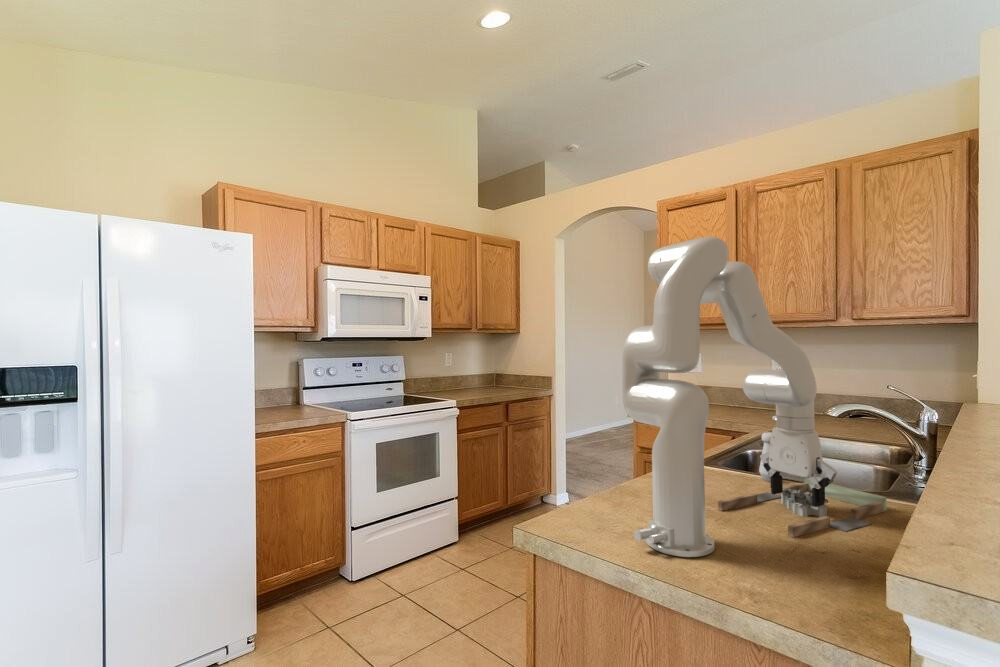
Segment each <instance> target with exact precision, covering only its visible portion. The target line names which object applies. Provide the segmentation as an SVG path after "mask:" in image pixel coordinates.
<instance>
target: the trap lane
mask: <svg viewBox="0 0 1000 667" xmlns="http://www.w3.org/2000/svg"><path fill="white" fill-rule="evenodd" d="M812 488H814V485H813V484H812V482H811V481H810V480H809V478H803V482H800V483H795V484H792V485H787V486H783V489H787V490H788V489H791V490H796V491H799V490H801V492H802V493H806V492H809V493H812ZM781 494H782V493H778V494H772V493H771V492H768V491H767V492H763V493H757V494H756V493H749V494H746V495H745V494H744V495H741V496H737V497H736V496H735V497H732V498H726V499H723V500H718V501H717V510H718V509H719V510H718V511H720V510H721V512H723V511H722V510H725V511H728V510H727V509H730V510H732V509H731V508H734V509H737V508H736V507H738V508H742V507H741V506H743V507H746V505H747V506H750V505H751V506H752V505H755V503H756V504H759V502H760V503H764V502H769V501H772V500H777V499H781ZM825 497H827V498H832V499H834V500H838V501H842V502H845V503H849V504H853V505H856V506H857V507H852V508H851V512H850V513H851V515H850V517H848V518H847V517H846V518H844V519H843V518H842V519H839V520H836V521H832V522H831V517H830V516H828V515H827V516H823V517H815V518H812V519H808V520H805V521H801V522H797V523H794V524H790V525H788V526H787V534H788V537H790V538H793V539H794V538H797V537H801V536H803V535H807V534H810V533H813V532H817V531H821V530H824V529H827V528H833V529H834V530H835V529H836V530H840V531H842V532H846V533H847V532H850V531H852V530H856V529H860V528H863V527H867V526H870V525H872V522H870V521H866V520H863V518H867V517H869V516H873V515H874V516H875V515H877V514H880V513H884V512H886V511H888V509H887V508H888V506H887V497H886V496H883V495H878V494H873V493H870V492H867V491H866V492H865V491H861V490H857V489H854V488H851V487H850V488H849V487H845V486H843V485H838V484H833V483H830V484H829V485H828V486H827V487H825ZM768 500H769V501H768ZM861 519H862V520H861Z"/></svg>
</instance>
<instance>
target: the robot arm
mask: <svg viewBox="0 0 1000 667" xmlns="http://www.w3.org/2000/svg"><path fill="white" fill-rule="evenodd" d="M729 252H730V251H729V247H728V243H726V241H724V240H723V239H722V238H720V237H715V236H703V237H699V238H693V239H689V240H686V241H683V242H679V243H673V244H670V245H669V244H668V245H666V246H661V247H660V248H658V249H656V250H655V251H653V253H651V255H650V256H649V259H648V261H647V262H648V263H647V271H648V274H649V276H650V278H651V279H652V281H653V282H654V283H655V284H656V285H658V287H657V290H656V292H655V296H654V301H653V320H652V325H643V326H642V325H641V326H638V327H636V328H634V329H633V330H631V332H629V334H628V335H627V336H626V338H625V340H624V344H623V346H622V347H623V348H622V354H621V356H622V359H621V360H622V361H621V363H622V364H621V366H622V369H621V370H622V372H621V374H622V375H621V376H622V379H621V380H622V383H621V384H622V387H621V388H622V403H623V407H624V410H625V412H626V414H627V416H628V417H629V418H631V420H632V421H635V422H637V423H640V424H645V425H650V426H655V427H658V428H659V431H658V434H657V435H656V438H655V440H654V442H653V445H652V449H651V467H652V468H651V471H652V472H651V473H652V479H651V480H652V516H653V517H652V519H649V520H648V521H649V522H648V525H647V526H646V528H640V529H635V530H634V531H633V537H634V539H635V541H637V542H641V541H644V540H645V544H647V545H648V546H649V547H650V548H652V549H653V550H655V551H657V552H660V553H662V554H666V555H669V556H672V557H673V556H675V557H679V558H681V557H682V558H698V557H704V556H708V555H710V554H711V553H713V552H714V550H715V549H716V548H715V541H714V539H713V537H711V536H710V535H709V534H707V533H706V500H705V499H706V498H705V496H706V495H705V491H706V490H705V489H706V487H705V486H706V485H705V455H704V454H705V434H706V428H707V423H708V419H709V418H708V417H709V413H710V411H709V409H710V403H709V402H710V401H709V398H708V395H707V394H706V393H705V391H704V390H703V389H702V388H701V387H700V386H698V385H697V384H694V383H692V382H689V381H685V380H679V379H666V378H665V379H664V378H663V379H662V378H660V377H661V376H660V375H661V373H667V374H669V373H670V374H685V373H689V372H691V371H693V370H694V369H696V367H697V366H698V364H699V361H700V360H699V359H700V353H701V352H700V348H701V342H700V341H701V337H700V335H701V332H700V331H701V328H700V327H701V324H700V323H701V322H700V320H701V319H700V317H701V316H700V314H701V313H700V312H701V305H703V304H704V305H705V304H715V303H716V304H717V305H718V307H719V309H720V313H721V316H722V318H723V321H724V322H725V326H726V328H727V331H728V333H729V336H730V338H731V339H733V340H734V342H737V343H739V344H741V345H743V346H745V347H747V348H749V349H752V350H754V351H756V352H759V353H761V354H762V355H765V356H767V357H768V358H770V359H771V360H772V361H774V363H776V364H777V366H779V368H780V369H755V370H752V371H750V372H749V373H748V374H746V375H745V377H744V378H743V381H742V390H743V392H744V394H745V396H746V397H747V398H748V399H749V400H751V401H754V402H756V403H760V404H768V405H775V415H772V417H771V420H772V421H773V422H775V425H776V426H775V427H773V428H772V430H771V432H772V434H771V439H770V449H769V452H767V453H764V454H762V453H761V454H760V455H759V458H760V461H761V460H762V462H763V466H764V468H765V469H766V470H767V472H768V475H769V476H770V479H771V482H770V493H772V494H776V495H779V493H782V492H783V487H784V486H783V484H784V483H783V475H782V476H781V475H780V473H783V474H785V475H790V476H793V477H797V478H801V479H805V478H809V480H810V481H811V482H812V484H813V485H814V488H812V492H811V496H812V505H813V506H815V507H818V506H821V505H824V502H825V499H826V496H825V487H827V486H828V485H829V484H833V482H834V479H835V478H836V476H837V474H838V471H837V470H836V469H835V468H834V467H833V466H830V465H829V464H828V463H827V462H825V461H824V460H823V455H822V454H823V453H822V447H821V441H820V436H819V434H818V431H816V429H815V428H816V427H815V399H816V396H817V392H818V391H817V388H818V387H817V382H816V378H815V373H814V370H813V368H812V366H811V362H810V360H809V357H808V355H807V354H806V352H805V351H804V350H803V348H801V346H800V345H799V344H797V342H796V341H795V340H793V339H792V338H791V337H790V336H789V335H788V334H786V333H785V332H784V331H783V330H781V329H780V328H778V327H777V326H776V325H775V324H774V323H773V321H772V319H771V316H770V313H769V311H768V309H767V305H766V302H765V300H764V298H763V295H762V291H761V288H760V286H759V283H758V281H757V278H756V276H755V272H754V271H753V269H752V267H751V266H750V265H749V264H748V263H745V262H743V261H735V260H734V261H729V254H730V253H729ZM823 472H825V476H824V477H823V476H822V474H823Z"/></svg>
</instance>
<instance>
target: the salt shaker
mask: <svg viewBox="0 0 1000 667" xmlns="http://www.w3.org/2000/svg"><path fill="white" fill-rule="evenodd" d="M771 434H772V431H768V432H763V433H762V434H761V441H762V442H763V445H762V446H763V447H762V451H761V454H764V453H767V452H769V449H770V439H771ZM759 464H760V465H759V469H758V472H759V474H760V477H761V478H762V480H763V481H765V482H768V481H769V483H771V479H770V476H769V475H768V472H767V470H766V469H765V468H764V466H763V462H762V460H761V459H760V463H759ZM780 475H781V476H782V477H783V475H784V473H780Z"/></svg>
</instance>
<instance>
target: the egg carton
mask: <svg viewBox="0 0 1000 667" xmlns="http://www.w3.org/2000/svg"><path fill="white" fill-rule="evenodd" d="M780 502H781V504H782V505H785V506H786V509H788V510H792V514H794V515H798V516H801V517H808V516H816V517H817V518H819V517H823V516H828V507H827V505H826V504H828V503H829V499H827V498H825V502H824V505H821V506H818V507H815V506H813V505H812V492H809V491H808V492H803V493H802V492H801V490H799V491H796V490H791V489H788V490H787V489H783V492H782V494H781V498H780ZM807 504H808V505H807Z"/></svg>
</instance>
